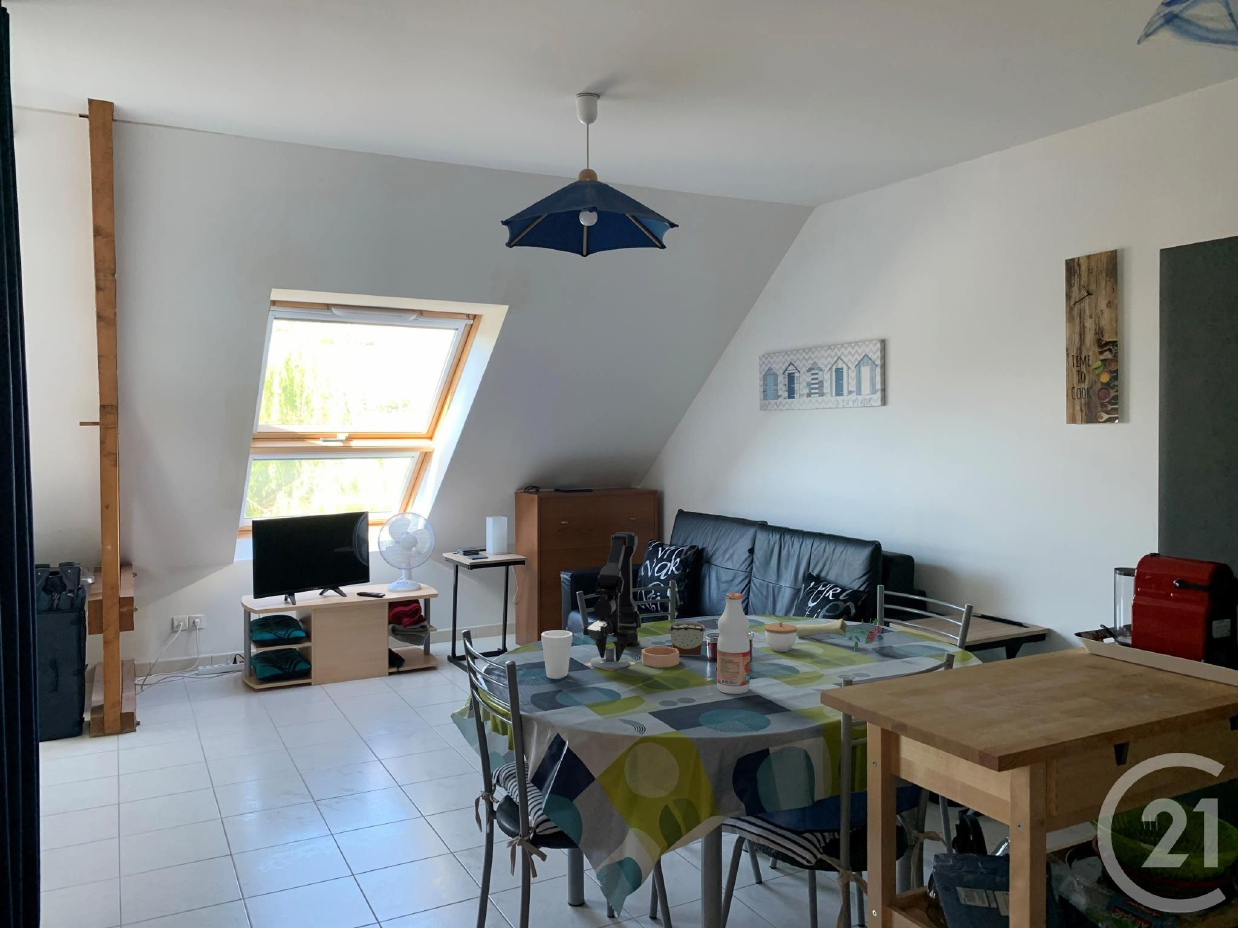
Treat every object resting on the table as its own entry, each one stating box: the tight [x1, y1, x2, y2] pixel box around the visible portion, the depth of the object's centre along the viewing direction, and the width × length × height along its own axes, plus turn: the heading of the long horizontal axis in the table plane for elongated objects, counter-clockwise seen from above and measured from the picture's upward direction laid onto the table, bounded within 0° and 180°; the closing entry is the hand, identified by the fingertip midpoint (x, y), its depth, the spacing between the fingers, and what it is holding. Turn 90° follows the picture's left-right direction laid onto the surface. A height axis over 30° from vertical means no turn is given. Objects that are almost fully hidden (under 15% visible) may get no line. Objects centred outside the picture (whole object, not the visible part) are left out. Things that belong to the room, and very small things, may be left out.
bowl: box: [641, 645, 680, 668], centre depth 297 cm, size 12×12×4 cm
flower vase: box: [794, 617, 883, 652], centre depth 320 cm, size 12×12×35 cm
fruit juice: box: [716, 592, 751, 695], centre depth 268 cm, size 9×9×28 cm
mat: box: [583, 661, 637, 672], centre depth 296 cm, size 12×12×1 cm
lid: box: [590, 646, 630, 670], centre depth 295 cm, size 12×12×5 cm
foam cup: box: [540, 629, 574, 680], centre depth 283 cm, size 10×9×13 cm
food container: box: [668, 621, 707, 657], centre depth 310 cm, size 12×6×10 cm, turn 84°
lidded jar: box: [764, 621, 797, 653], centre depth 315 cm, size 11×11×9 cm
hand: (609, 659), depth 295 cm, fingers open, 6 cm apart
